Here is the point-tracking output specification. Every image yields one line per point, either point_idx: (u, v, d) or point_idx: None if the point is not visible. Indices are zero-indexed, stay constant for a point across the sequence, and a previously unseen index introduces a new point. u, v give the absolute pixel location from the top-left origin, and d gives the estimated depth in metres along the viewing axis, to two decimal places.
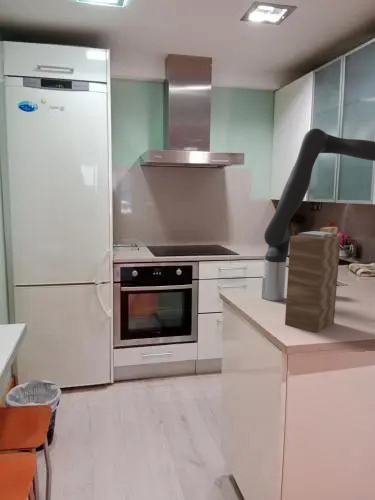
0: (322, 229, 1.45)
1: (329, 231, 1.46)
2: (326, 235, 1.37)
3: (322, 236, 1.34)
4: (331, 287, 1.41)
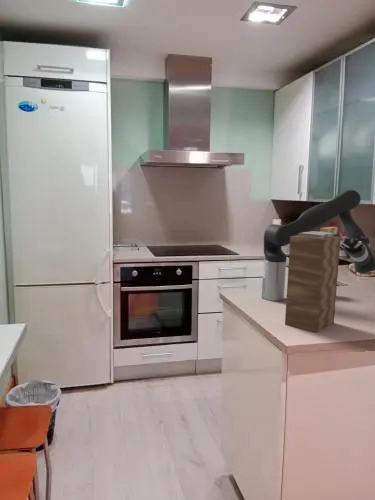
0: (322, 229, 1.45)
1: (329, 231, 1.46)
2: (326, 235, 1.37)
3: (322, 236, 1.34)
4: (331, 287, 1.41)
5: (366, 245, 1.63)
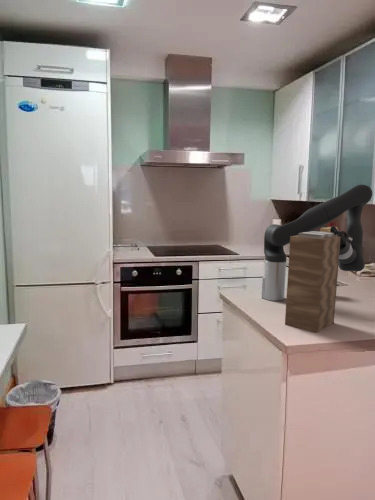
0: (322, 229, 1.45)
1: (329, 231, 1.46)
2: (326, 235, 1.37)
3: (322, 236, 1.34)
4: (331, 287, 1.41)
5: (344, 239, 1.48)
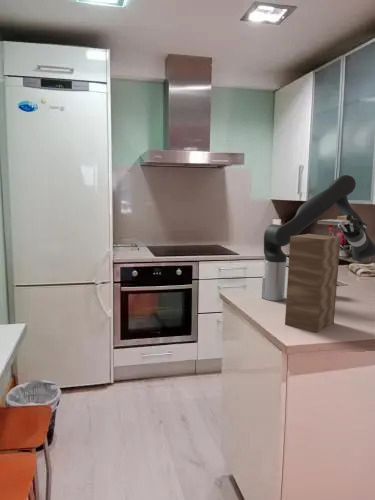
0: (339, 217, 1.56)
1: (345, 219, 1.56)
2: (343, 222, 1.48)
3: (340, 223, 1.45)
4: (331, 287, 1.41)
5: (359, 226, 1.59)
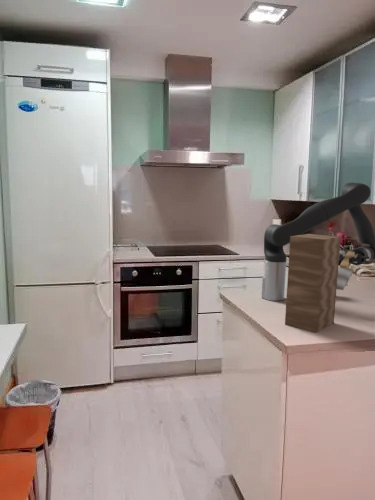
0: (342, 266, 1.64)
1: (348, 264, 1.65)
2: (347, 280, 1.58)
3: (344, 286, 1.56)
4: (331, 287, 1.41)
5: (362, 262, 1.68)
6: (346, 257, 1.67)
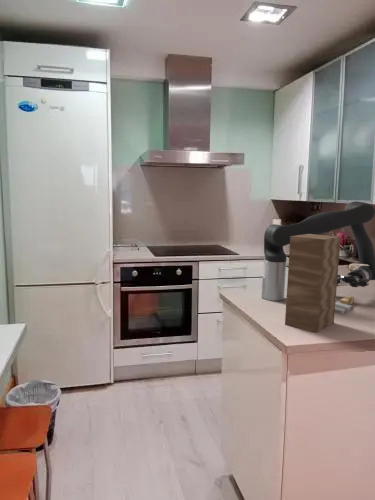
0: (341, 301, 1.69)
1: (347, 302, 1.69)
2: (346, 310, 1.61)
3: (343, 312, 1.58)
4: (331, 287, 1.41)
5: None
6: (346, 297, 1.73)
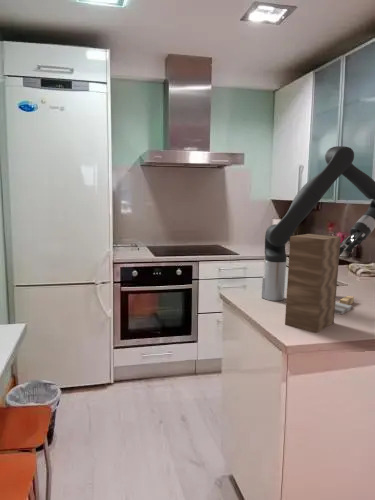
0: (341, 301, 1.69)
1: (347, 302, 1.69)
2: (346, 310, 1.61)
3: (343, 312, 1.58)
4: (331, 287, 1.41)
5: None
6: (346, 297, 1.73)
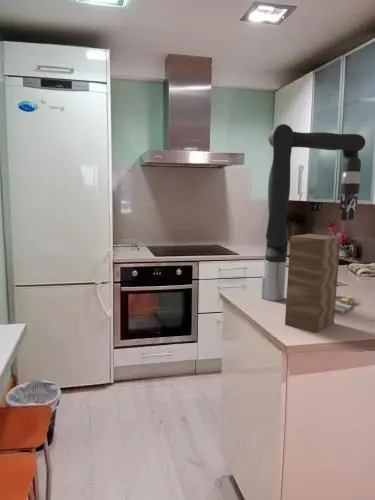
0: (341, 301, 1.69)
1: (347, 302, 1.69)
2: (346, 310, 1.61)
3: (343, 312, 1.58)
4: (331, 287, 1.41)
5: (346, 204, 1.67)
6: (346, 297, 1.73)
